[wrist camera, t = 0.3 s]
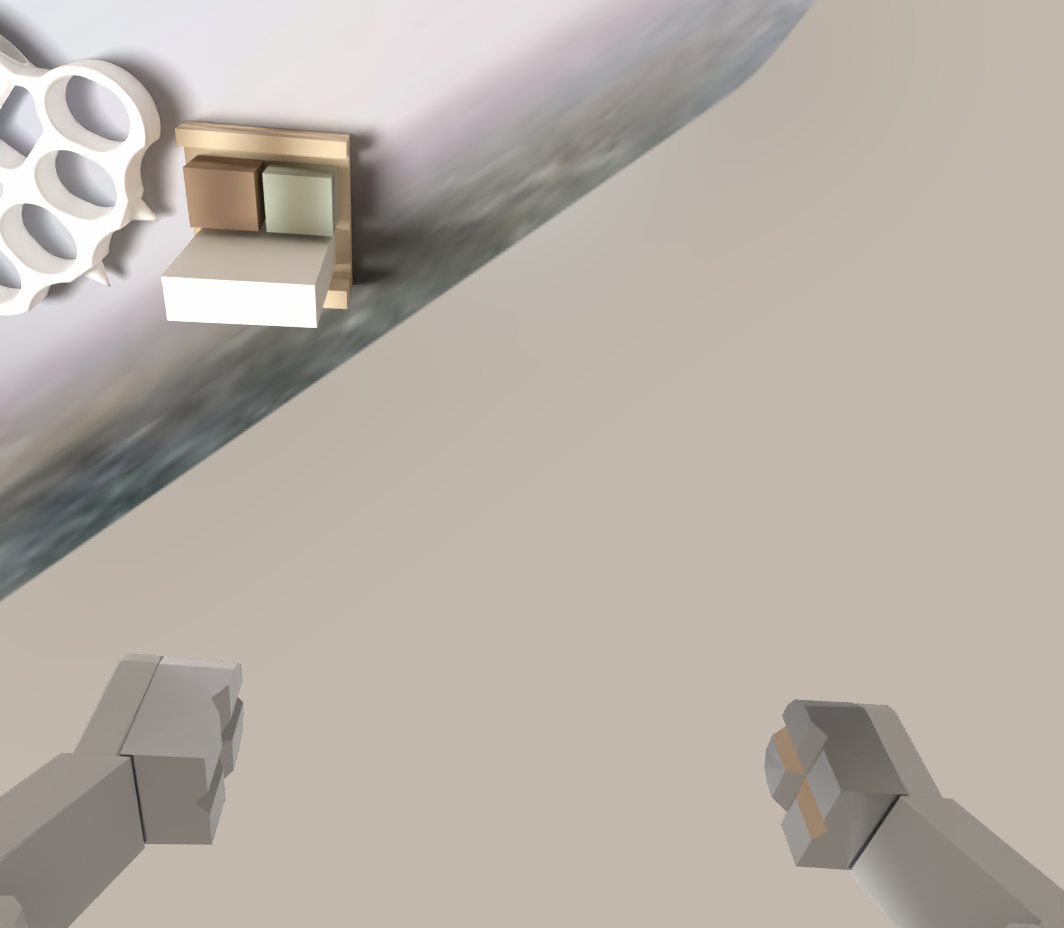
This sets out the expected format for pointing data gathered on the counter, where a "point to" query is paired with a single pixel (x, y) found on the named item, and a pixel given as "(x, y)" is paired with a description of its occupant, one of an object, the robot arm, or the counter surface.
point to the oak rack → (287, 149)
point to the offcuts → (261, 195)
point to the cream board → (250, 278)
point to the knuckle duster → (42, 186)
